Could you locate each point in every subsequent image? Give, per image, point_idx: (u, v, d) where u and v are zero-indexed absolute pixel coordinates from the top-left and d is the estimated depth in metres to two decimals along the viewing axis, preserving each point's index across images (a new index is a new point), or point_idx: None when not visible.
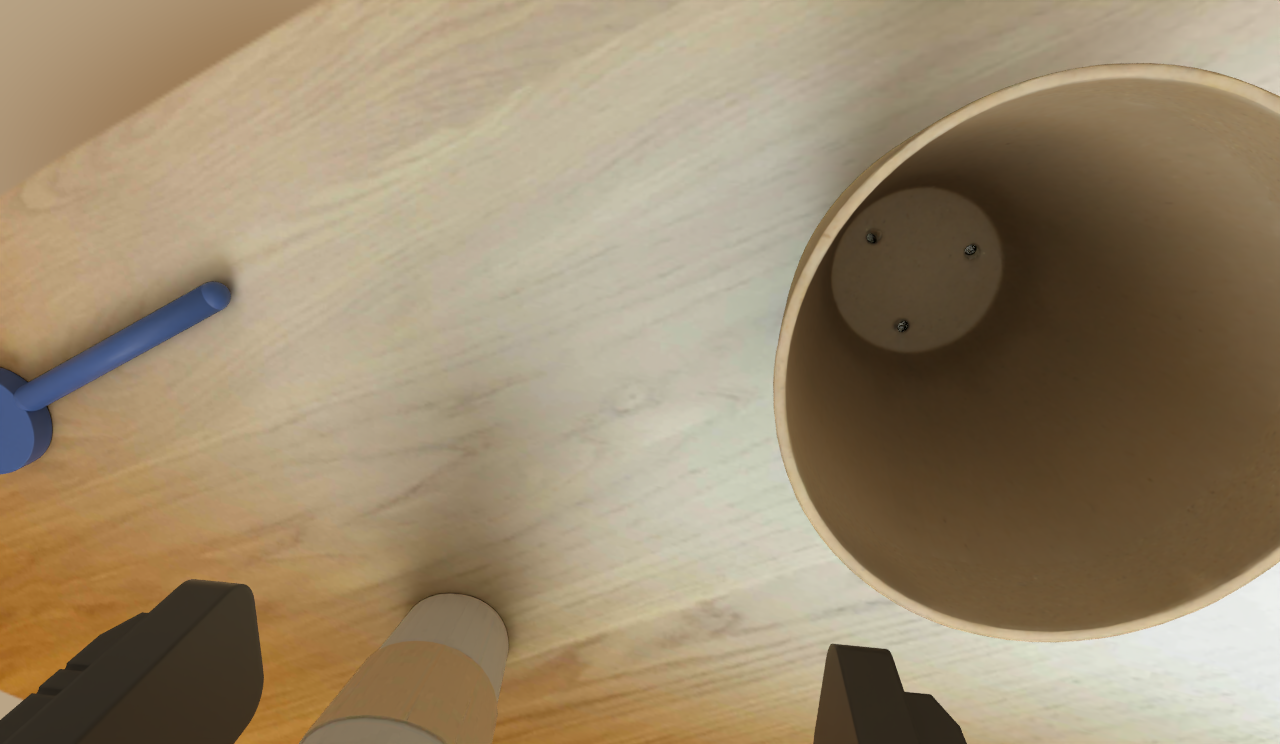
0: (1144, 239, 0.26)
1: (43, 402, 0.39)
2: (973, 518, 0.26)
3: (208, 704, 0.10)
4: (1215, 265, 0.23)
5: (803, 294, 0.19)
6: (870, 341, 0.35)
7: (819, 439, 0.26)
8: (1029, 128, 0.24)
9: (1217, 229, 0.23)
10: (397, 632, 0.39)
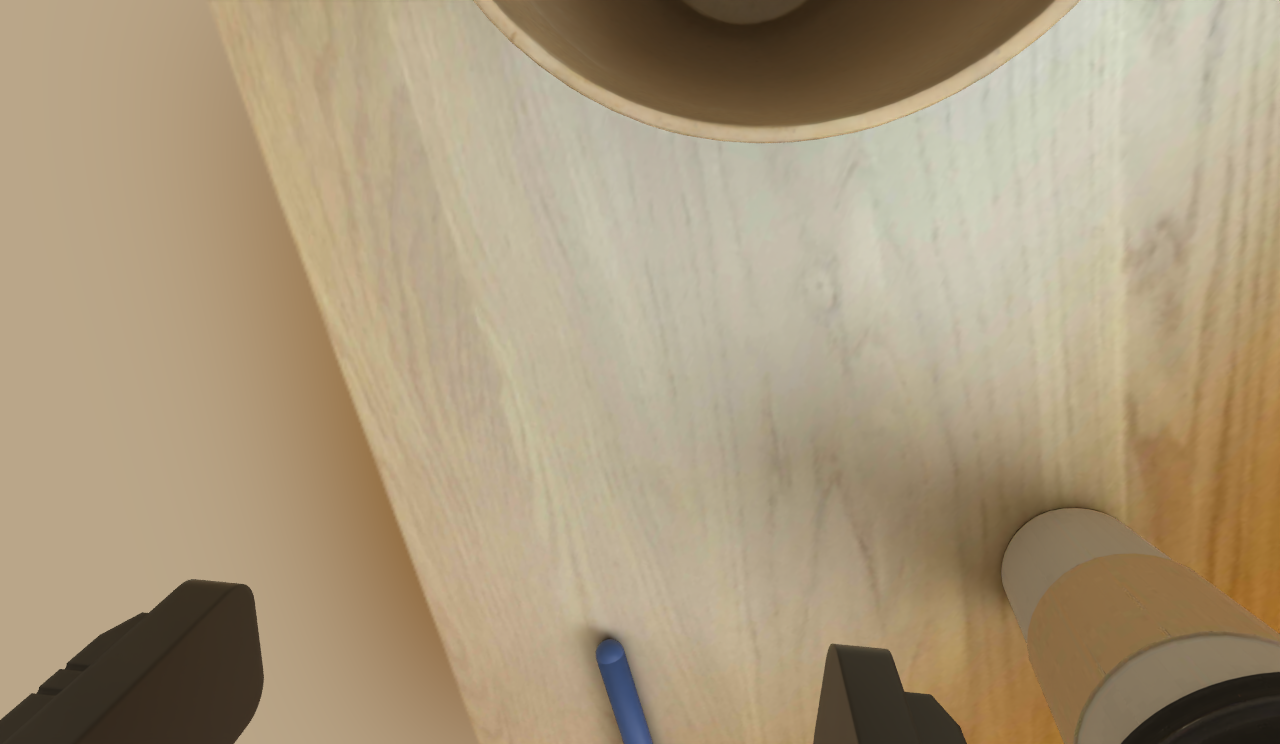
0: None
1: None
2: None
3: (208, 704, 0.10)
4: None
5: (580, 77, 0.15)
6: None
7: (854, 78, 0.20)
8: None
9: None
10: (1021, 628, 0.33)
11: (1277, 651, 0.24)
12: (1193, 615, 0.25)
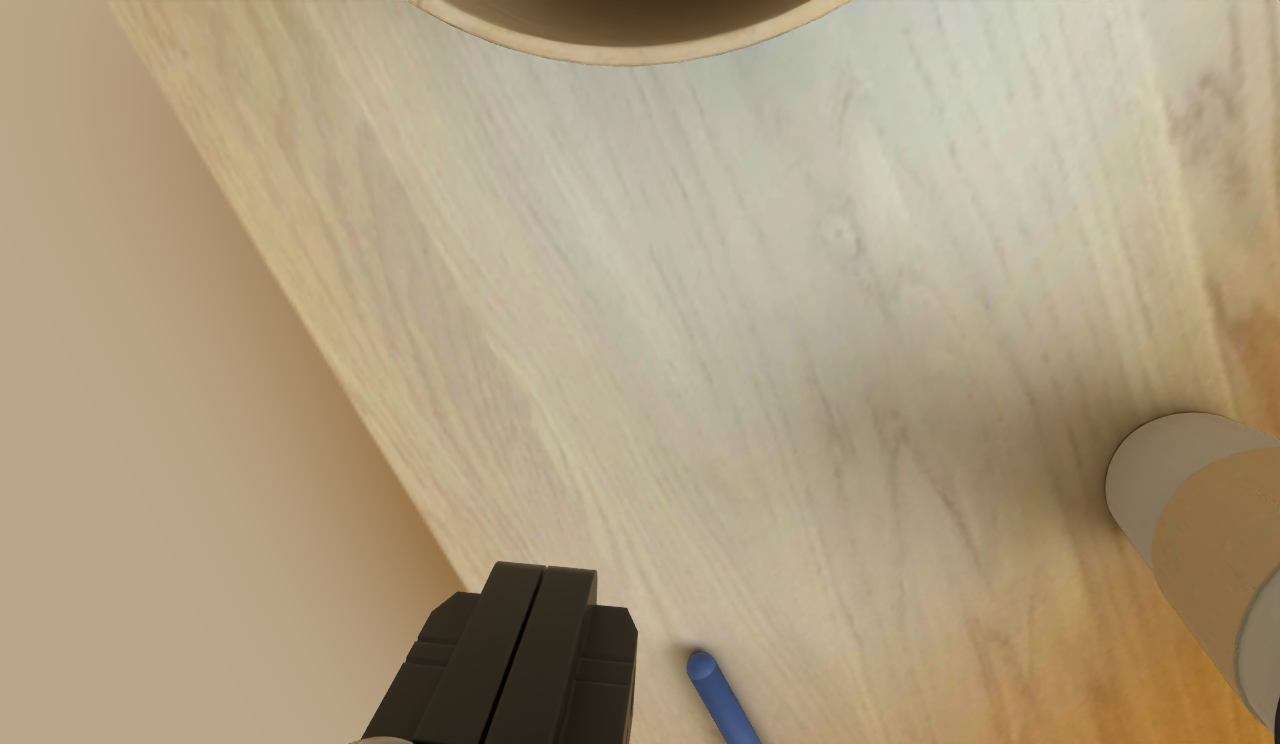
0: None
1: None
2: None
3: None
4: None
5: (502, 29, 0.13)
6: None
7: None
8: None
9: None
10: (1143, 557, 0.29)
11: None
12: None
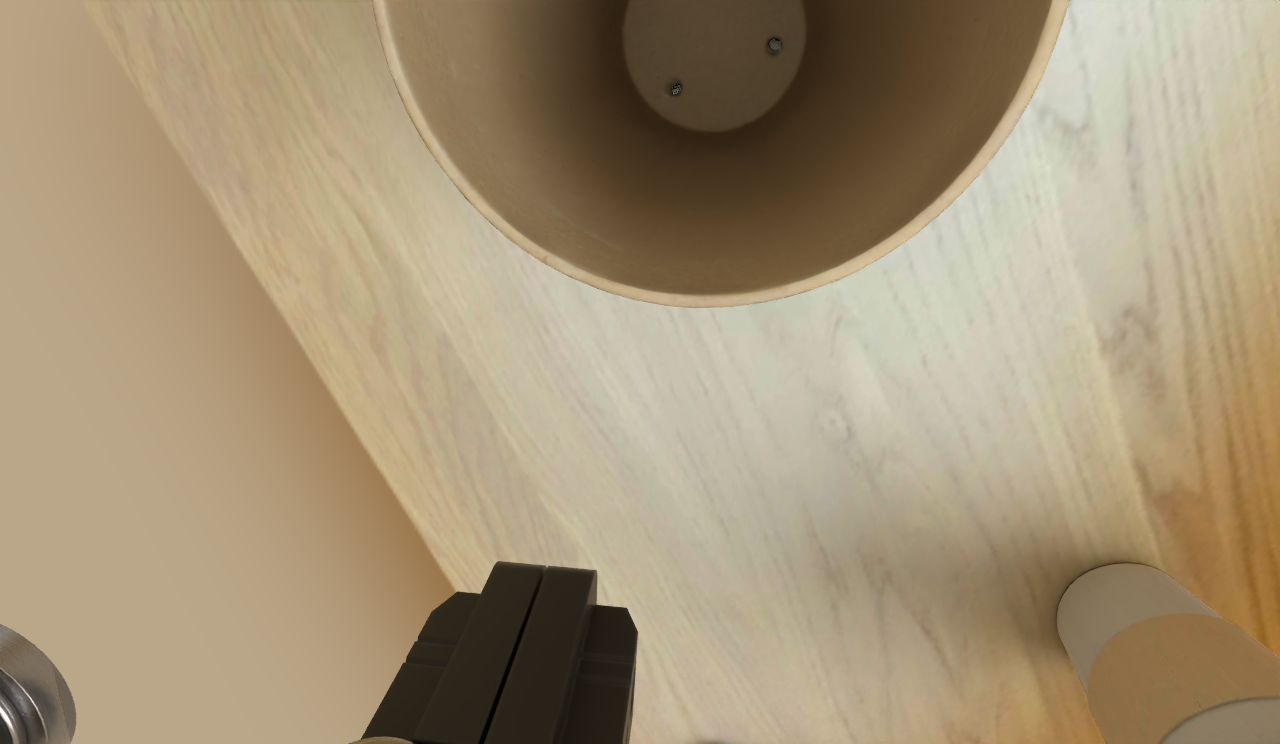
0: None
1: None
2: None
3: None
4: None
5: (604, 279, 0.19)
6: (790, 81, 0.31)
7: (832, 199, 0.22)
8: None
9: None
10: None
11: None
12: (1220, 682, 0.28)
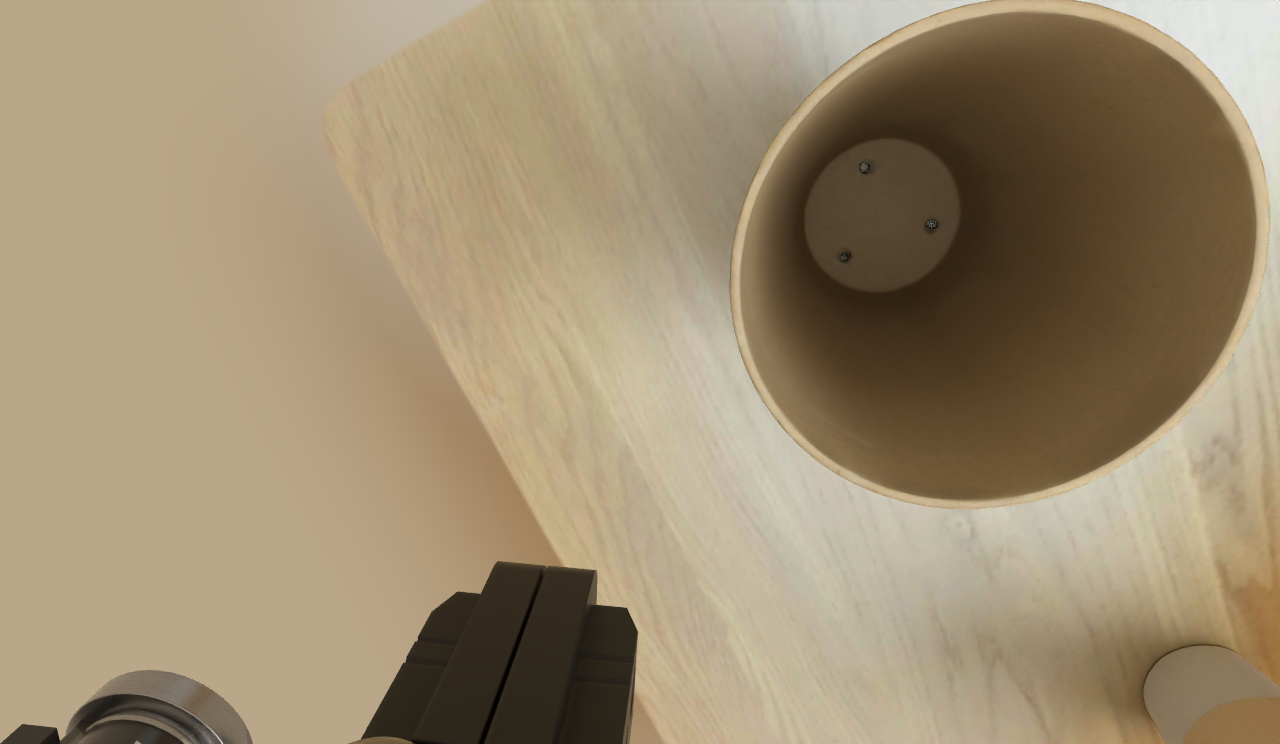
0: (868, 93, 0.29)
1: None
2: (1130, 258, 0.27)
3: None
4: (897, 67, 0.26)
5: (882, 487, 0.25)
6: (944, 253, 0.37)
7: (1022, 398, 0.29)
8: (765, 218, 0.29)
9: (863, 79, 0.26)
10: None
11: None
12: None
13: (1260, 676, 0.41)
